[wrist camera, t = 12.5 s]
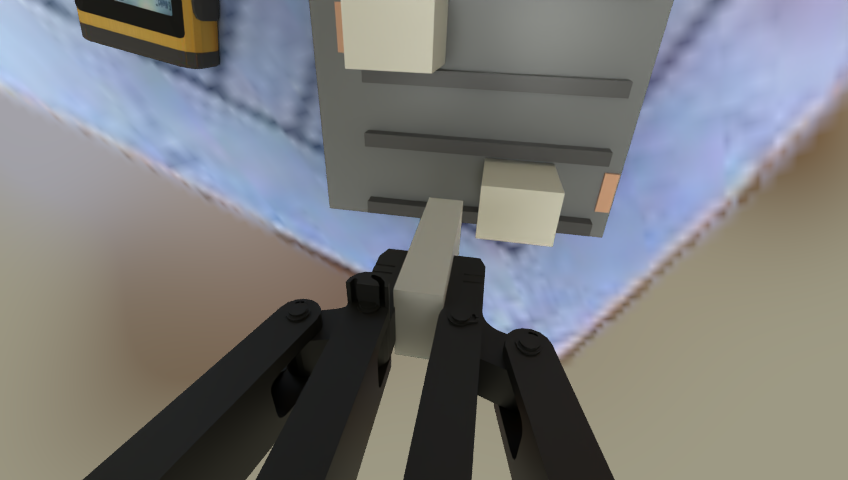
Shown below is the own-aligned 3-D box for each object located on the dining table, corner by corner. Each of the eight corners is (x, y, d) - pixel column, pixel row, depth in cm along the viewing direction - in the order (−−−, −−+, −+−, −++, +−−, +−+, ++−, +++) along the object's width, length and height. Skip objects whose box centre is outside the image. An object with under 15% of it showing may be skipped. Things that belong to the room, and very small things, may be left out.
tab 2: (484, 157, 23) (481, 185, 19) (554, 163, 22) (564, 193, 19) (479, 203, 24) (475, 238, 21) (544, 210, 24) (552, 246, 20)
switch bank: (302, -253, 17) (270, -297, 15) (739, -281, 15) (785, -339, 13) (340, 196, 28) (325, 212, 26) (595, 223, 26) (604, 243, 24)
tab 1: (371, -4, 20) (339, -11, 16) (448, -2, 19) (434, -8, 15) (373, 59, 21) (345, 68, 17) (445, 63, 21) (431, 73, 17)
